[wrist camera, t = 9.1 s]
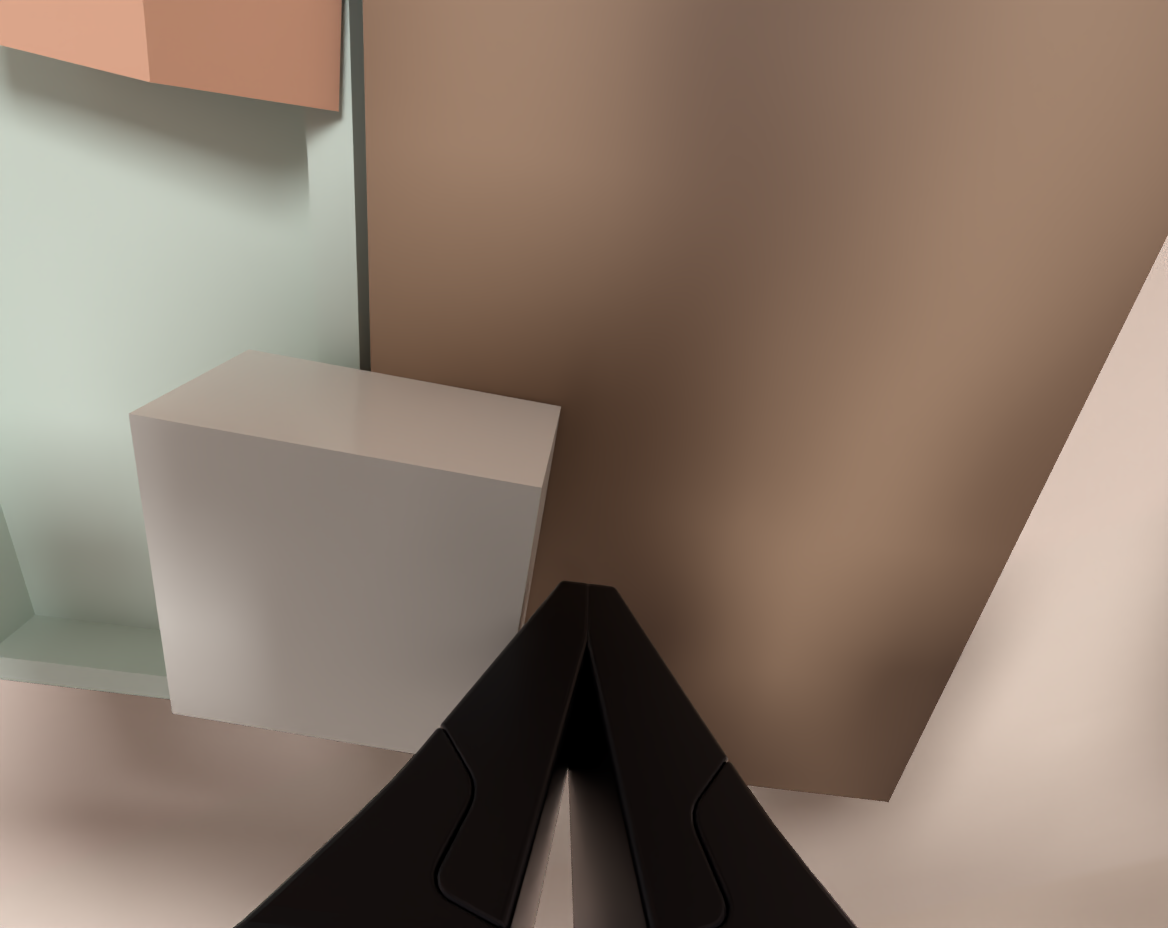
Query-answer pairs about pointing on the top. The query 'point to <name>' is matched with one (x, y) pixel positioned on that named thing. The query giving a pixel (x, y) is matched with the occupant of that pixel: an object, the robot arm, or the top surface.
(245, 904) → the top surface
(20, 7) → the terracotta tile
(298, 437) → the cream tile
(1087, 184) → the walnut board
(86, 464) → the green tray
